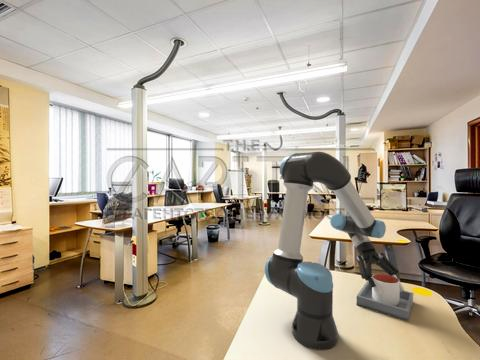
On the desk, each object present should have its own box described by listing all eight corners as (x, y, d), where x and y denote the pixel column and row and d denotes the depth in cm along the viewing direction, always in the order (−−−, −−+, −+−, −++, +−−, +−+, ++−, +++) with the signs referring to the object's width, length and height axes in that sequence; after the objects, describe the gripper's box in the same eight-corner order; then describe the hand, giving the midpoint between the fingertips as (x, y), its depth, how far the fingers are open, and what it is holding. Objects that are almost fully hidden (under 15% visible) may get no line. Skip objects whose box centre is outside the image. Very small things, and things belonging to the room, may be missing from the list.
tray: (356, 305, 103) (356, 295, 103) (367, 289, 116) (367, 281, 116) (408, 321, 91) (408, 311, 91) (413, 302, 105) (413, 292, 105)
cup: (398, 299, 105) (398, 276, 105) (400, 310, 97) (400, 285, 96) (372, 293, 110) (372, 271, 110) (371, 304, 102) (371, 280, 102)
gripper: (378, 246, 121) (407, 292, 106) (338, 250, 115) (363, 299, 100) (387, 238, 116) (419, 286, 101) (346, 242, 110) (373, 293, 95)
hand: (391, 293), depth 101 cm, fingers open, 10 cm apart
